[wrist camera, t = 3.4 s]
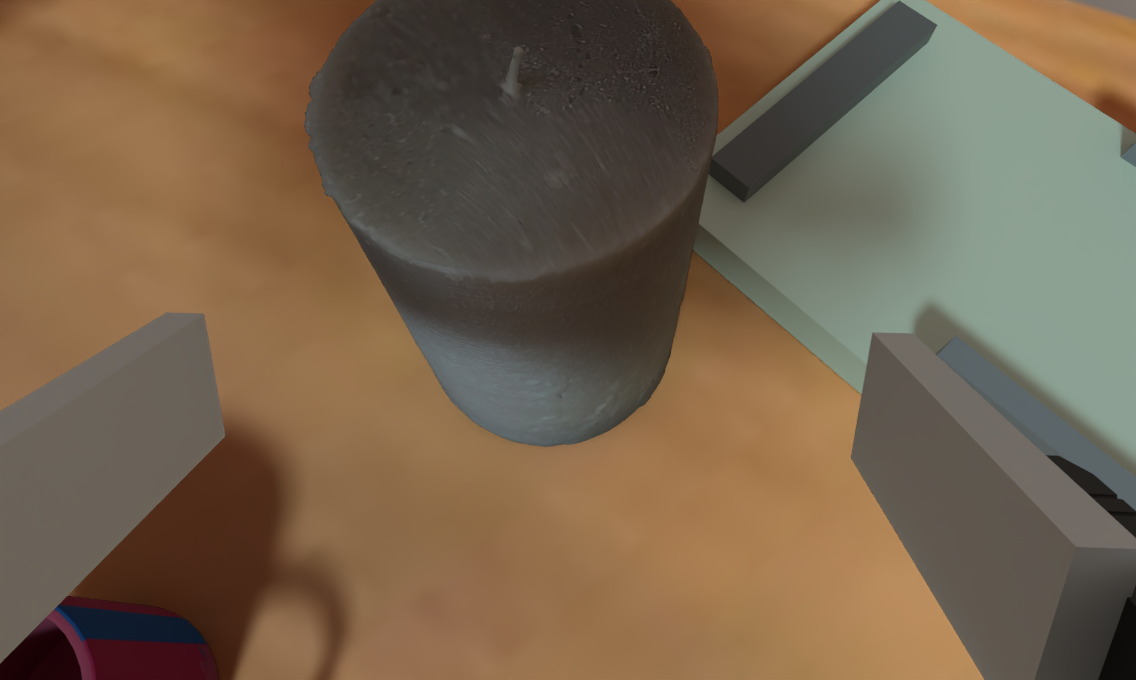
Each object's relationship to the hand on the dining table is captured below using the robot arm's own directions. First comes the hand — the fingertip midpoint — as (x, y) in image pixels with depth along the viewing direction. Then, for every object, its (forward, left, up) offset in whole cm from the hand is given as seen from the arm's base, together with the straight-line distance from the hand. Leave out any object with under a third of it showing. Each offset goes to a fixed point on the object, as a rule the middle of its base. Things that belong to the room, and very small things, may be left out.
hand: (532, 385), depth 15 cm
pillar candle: (-5, +4, -13) cm, 15 cm away
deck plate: (+7, +19, -13) cm, 24 cm away
